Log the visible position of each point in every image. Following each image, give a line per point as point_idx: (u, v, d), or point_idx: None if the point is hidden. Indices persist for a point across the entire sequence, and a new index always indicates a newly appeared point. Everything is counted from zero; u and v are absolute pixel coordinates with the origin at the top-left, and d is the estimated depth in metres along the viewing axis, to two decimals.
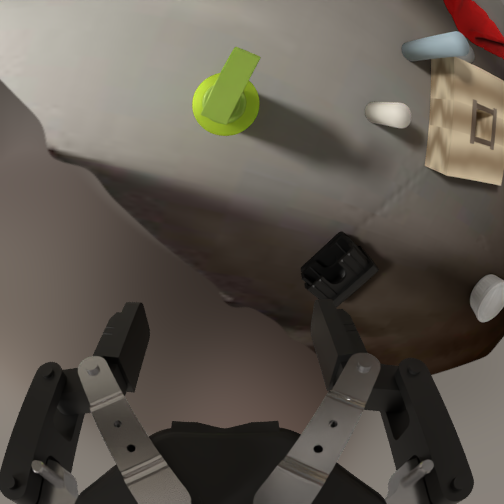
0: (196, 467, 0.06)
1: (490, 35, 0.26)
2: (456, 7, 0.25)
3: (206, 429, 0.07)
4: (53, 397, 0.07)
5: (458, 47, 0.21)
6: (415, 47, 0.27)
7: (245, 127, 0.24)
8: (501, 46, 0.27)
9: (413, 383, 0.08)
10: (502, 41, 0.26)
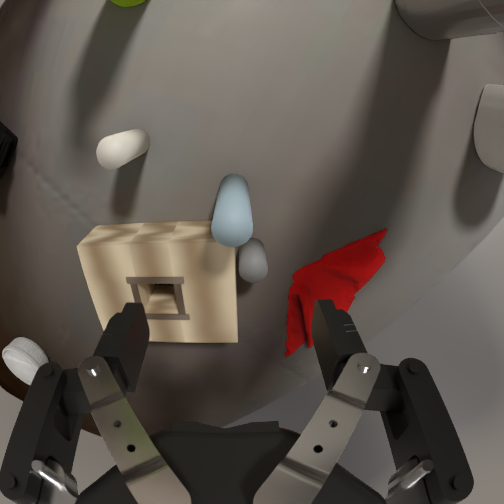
0: (196, 467, 0.06)
1: (310, 318, 0.41)
2: (334, 268, 0.38)
3: (206, 429, 0.07)
4: (53, 397, 0.07)
5: (222, 224, 0.23)
6: (231, 182, 0.29)
7: None
8: (303, 337, 0.45)
9: (413, 383, 0.08)
10: (310, 337, 0.43)
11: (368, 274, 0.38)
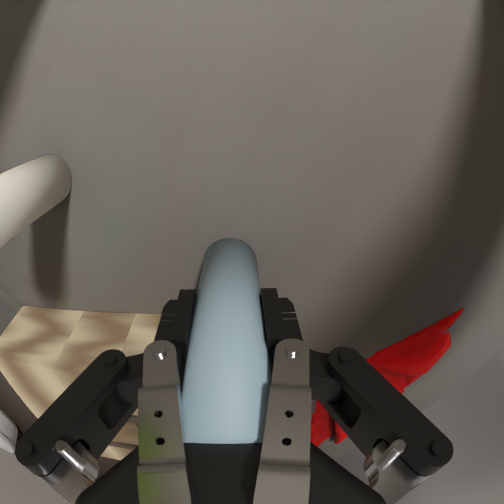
0: (196, 467, 0.06)
1: None
2: (387, 367, 0.23)
3: None
4: (106, 386, 0.08)
5: None
6: (223, 275, 0.14)
7: None
8: (329, 433, 0.29)
9: (350, 372, 0.09)
10: (339, 437, 0.28)
11: (429, 368, 0.23)
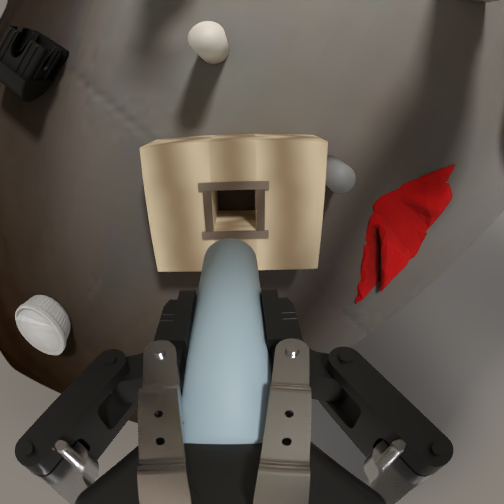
0: (196, 467, 0.06)
1: (387, 254, 0.38)
2: (411, 199, 0.35)
3: None
4: (106, 386, 0.08)
5: None
6: (224, 275, 0.14)
7: None
8: (375, 279, 0.41)
9: (350, 372, 0.09)
10: (384, 277, 0.40)
11: (440, 208, 0.35)
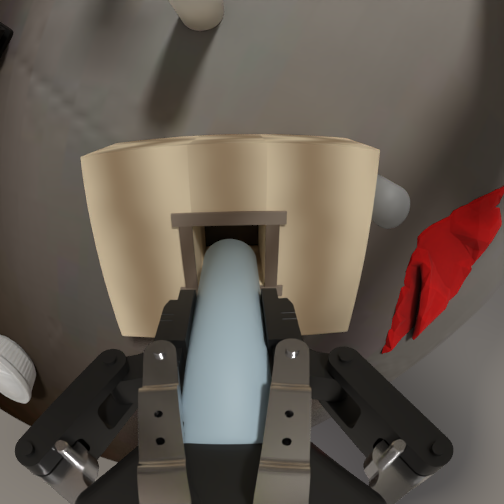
0: (196, 467, 0.06)
1: (428, 298, 0.27)
2: (462, 228, 0.25)
3: None
4: (106, 387, 0.08)
5: None
6: (223, 275, 0.14)
7: None
8: (408, 325, 0.31)
9: (350, 372, 0.09)
10: (420, 325, 0.29)
11: (490, 239, 0.25)
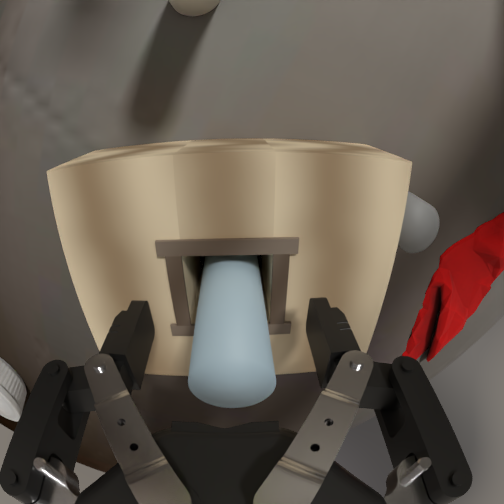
0: (196, 467, 0.06)
1: (447, 320, 0.24)
2: (485, 246, 0.21)
3: (206, 429, 0.07)
4: (58, 395, 0.07)
5: (211, 380, 0.10)
6: None
7: None
8: (423, 347, 0.28)
9: (407, 381, 0.08)
10: (436, 347, 0.26)
11: None
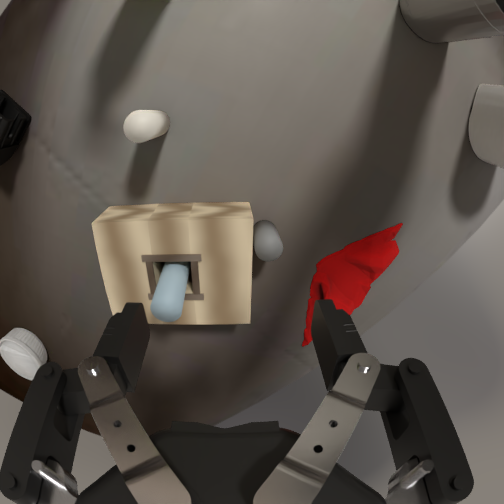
0: (196, 467, 0.06)
1: None
2: (355, 258, 0.41)
3: (206, 429, 0.07)
4: (53, 397, 0.07)
5: (158, 306, 0.28)
6: None
7: None
8: None
9: (413, 383, 0.08)
10: None
11: (384, 265, 0.41)
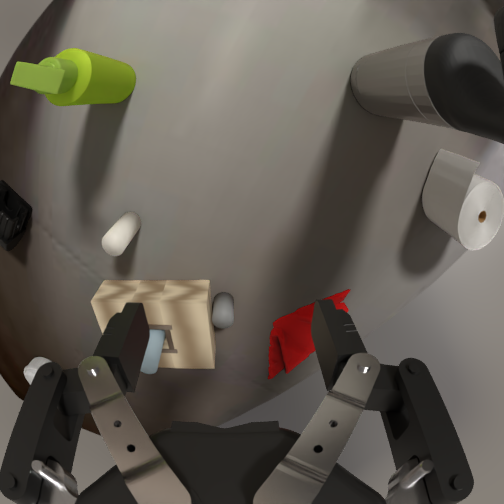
0: (196, 467, 0.06)
1: (286, 353, 0.52)
2: (305, 318, 0.49)
3: (206, 429, 0.07)
4: (53, 397, 0.07)
5: None
6: None
7: (48, 98, 0.20)
8: (282, 365, 0.56)
9: (413, 383, 0.08)
10: (286, 366, 0.54)
11: None
